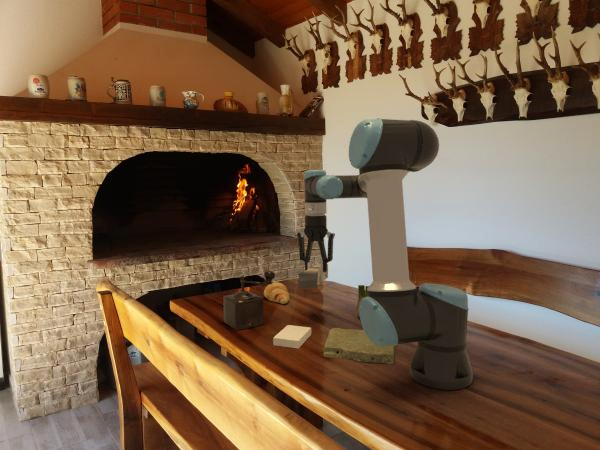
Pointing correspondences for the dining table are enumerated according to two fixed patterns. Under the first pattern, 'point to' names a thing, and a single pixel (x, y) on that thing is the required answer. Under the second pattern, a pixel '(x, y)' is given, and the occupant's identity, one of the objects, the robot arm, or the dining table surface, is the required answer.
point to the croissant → (277, 293)
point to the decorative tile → (356, 347)
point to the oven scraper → (311, 277)
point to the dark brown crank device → (245, 305)
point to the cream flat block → (292, 336)
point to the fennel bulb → (361, 295)
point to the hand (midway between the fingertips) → (316, 280)
